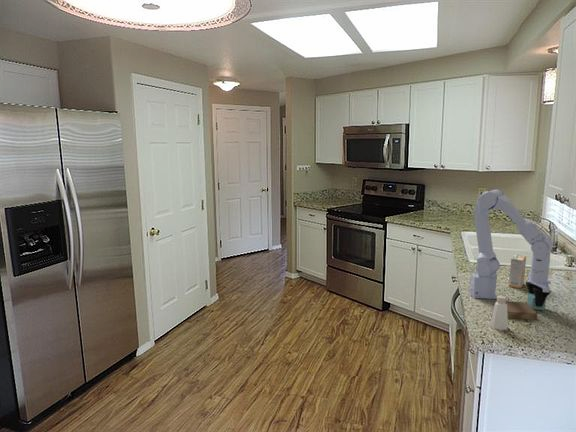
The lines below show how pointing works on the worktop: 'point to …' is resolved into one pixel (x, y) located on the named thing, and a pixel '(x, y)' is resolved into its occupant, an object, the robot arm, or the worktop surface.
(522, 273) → the supplement box
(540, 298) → the robot arm
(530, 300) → the teal cube
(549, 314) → the worktop surface
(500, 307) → the pepper shaker
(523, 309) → the walnut block
